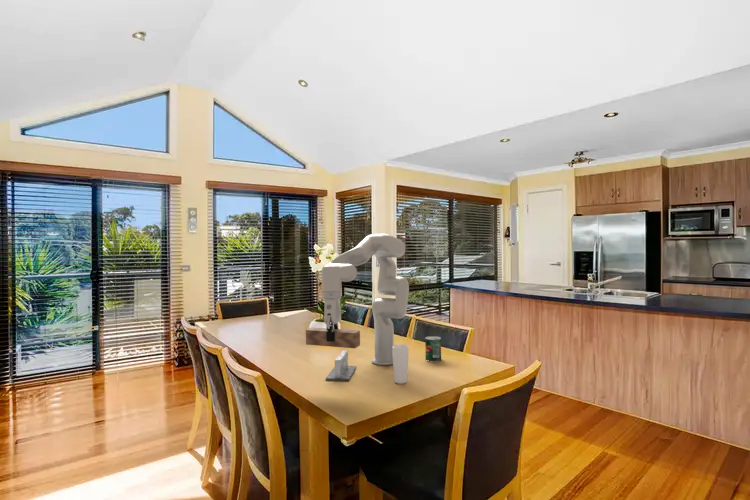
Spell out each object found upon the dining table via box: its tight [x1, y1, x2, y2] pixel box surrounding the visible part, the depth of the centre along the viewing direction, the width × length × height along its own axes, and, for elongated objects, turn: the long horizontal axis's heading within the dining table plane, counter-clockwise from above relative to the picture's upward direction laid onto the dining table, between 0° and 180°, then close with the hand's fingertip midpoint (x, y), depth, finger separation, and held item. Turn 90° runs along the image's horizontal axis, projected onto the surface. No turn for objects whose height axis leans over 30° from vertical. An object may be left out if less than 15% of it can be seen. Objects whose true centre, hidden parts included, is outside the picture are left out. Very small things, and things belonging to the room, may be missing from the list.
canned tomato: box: [424, 335, 442, 362], centre depth 193 cm, size 8×8×11 cm
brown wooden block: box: [305, 327, 361, 349], centre depth 157 cm, size 22×5×6 cm, turn 70°
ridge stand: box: [325, 349, 357, 382], centre depth 172 cm, size 10×18×8 cm, turn 172°
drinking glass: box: [392, 343, 409, 385], centre depth 161 cm, size 7×7×15 cm
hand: (332, 339), depth 157 cm, fingers closed on brown wooden block, 5 cm apart
